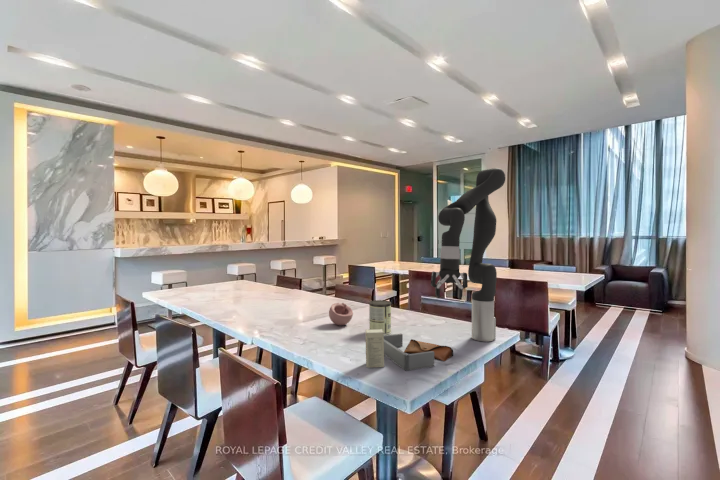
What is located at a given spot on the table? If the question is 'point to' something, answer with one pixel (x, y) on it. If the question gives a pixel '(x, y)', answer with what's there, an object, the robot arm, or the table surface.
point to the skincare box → (374, 348)
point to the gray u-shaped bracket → (406, 359)
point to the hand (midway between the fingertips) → (448, 298)
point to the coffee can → (380, 315)
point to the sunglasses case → (429, 349)
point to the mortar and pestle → (340, 313)
